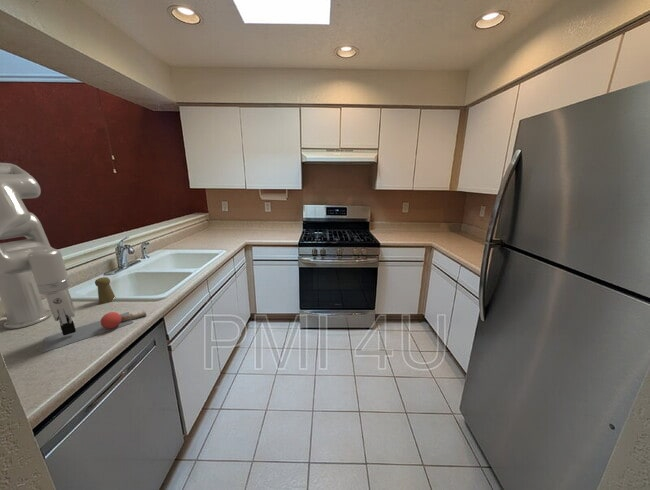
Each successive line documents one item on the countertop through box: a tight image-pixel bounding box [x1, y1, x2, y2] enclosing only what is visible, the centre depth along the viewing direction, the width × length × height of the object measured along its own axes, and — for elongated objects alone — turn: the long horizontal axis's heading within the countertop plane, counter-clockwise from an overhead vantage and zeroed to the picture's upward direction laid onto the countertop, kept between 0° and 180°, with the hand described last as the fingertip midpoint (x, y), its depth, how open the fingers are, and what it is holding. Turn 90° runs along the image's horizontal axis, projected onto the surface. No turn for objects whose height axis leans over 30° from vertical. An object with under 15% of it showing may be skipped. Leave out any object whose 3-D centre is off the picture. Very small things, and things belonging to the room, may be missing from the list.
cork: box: [94, 276, 116, 305], centre depth 115 cm, size 6×6×11 cm
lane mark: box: [43, 311, 134, 353], centre depth 95 cm, size 24×11×1 cm, turn 135°
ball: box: [100, 311, 121, 329], centre depth 95 cm, size 6×6×6 cm
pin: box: [121, 309, 147, 322], centre depth 102 cm, size 2×2×8 cm
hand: (69, 332), depth 91 cm, fingers closed
